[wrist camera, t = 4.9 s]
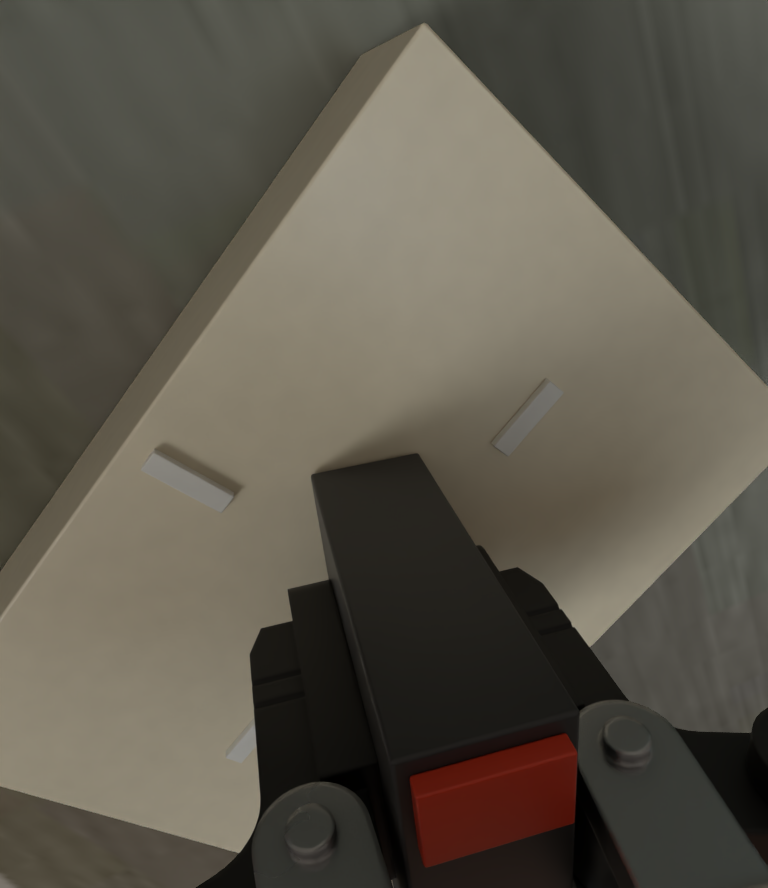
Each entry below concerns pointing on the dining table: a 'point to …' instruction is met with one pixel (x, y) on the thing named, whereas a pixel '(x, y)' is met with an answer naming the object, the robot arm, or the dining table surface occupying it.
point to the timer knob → (448, 688)
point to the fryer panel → (360, 436)
